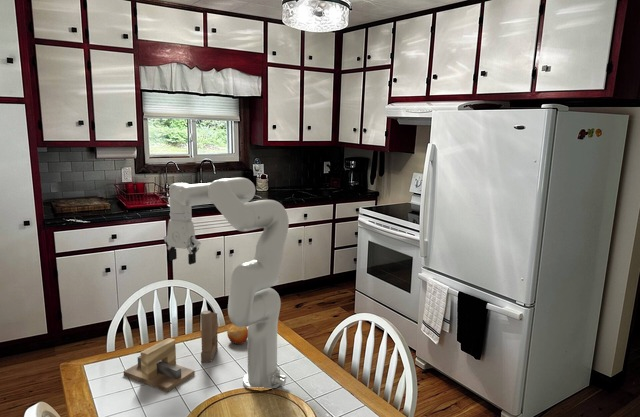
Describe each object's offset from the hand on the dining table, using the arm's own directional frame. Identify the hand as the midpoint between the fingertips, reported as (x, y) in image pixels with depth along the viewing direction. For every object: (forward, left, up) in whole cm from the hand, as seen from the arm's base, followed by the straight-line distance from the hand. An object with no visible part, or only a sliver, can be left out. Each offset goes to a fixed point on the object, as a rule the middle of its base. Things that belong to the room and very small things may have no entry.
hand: (182, 261), depth 172 cm
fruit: (-17, -11, -33) cm, 38 cm away
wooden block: (-15, +3, -32) cm, 36 cm away
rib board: (-10, +22, -32) cm, 40 cm away
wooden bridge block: (-10, +22, -31) cm, 39 cm away
